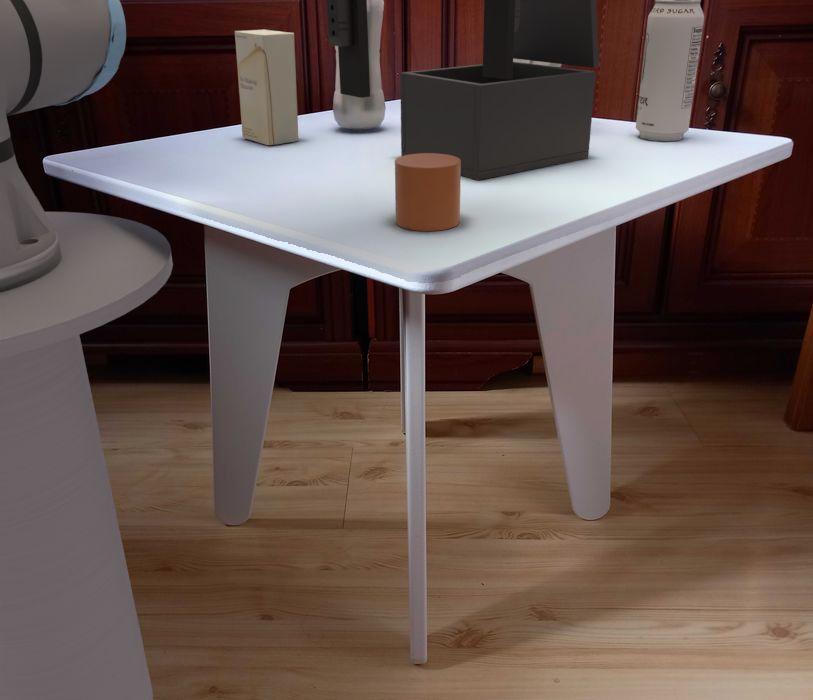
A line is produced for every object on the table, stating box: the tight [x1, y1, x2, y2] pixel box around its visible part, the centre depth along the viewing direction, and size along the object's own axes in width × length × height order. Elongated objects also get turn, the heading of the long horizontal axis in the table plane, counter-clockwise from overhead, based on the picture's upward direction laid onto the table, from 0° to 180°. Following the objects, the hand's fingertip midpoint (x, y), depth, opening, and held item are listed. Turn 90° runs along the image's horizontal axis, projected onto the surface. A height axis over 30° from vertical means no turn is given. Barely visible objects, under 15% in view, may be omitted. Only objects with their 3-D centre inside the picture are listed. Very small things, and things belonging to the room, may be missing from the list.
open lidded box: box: [399, 62, 597, 181], centre depth 84 cm, size 16×13×9 cm
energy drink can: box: [635, 0, 705, 142], centre depth 92 cm, size 6×6×15 cm
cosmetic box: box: [234, 29, 299, 146], centre depth 94 cm, size 6×4×12 cm
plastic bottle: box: [332, 0, 387, 131], centre depth 98 cm, size 6×7×20 cm
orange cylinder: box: [394, 153, 462, 232], centre depth 64 cm, size 5×5×5 cm
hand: (430, 86), depth 61 cm, fingers open, 13 cm apart
